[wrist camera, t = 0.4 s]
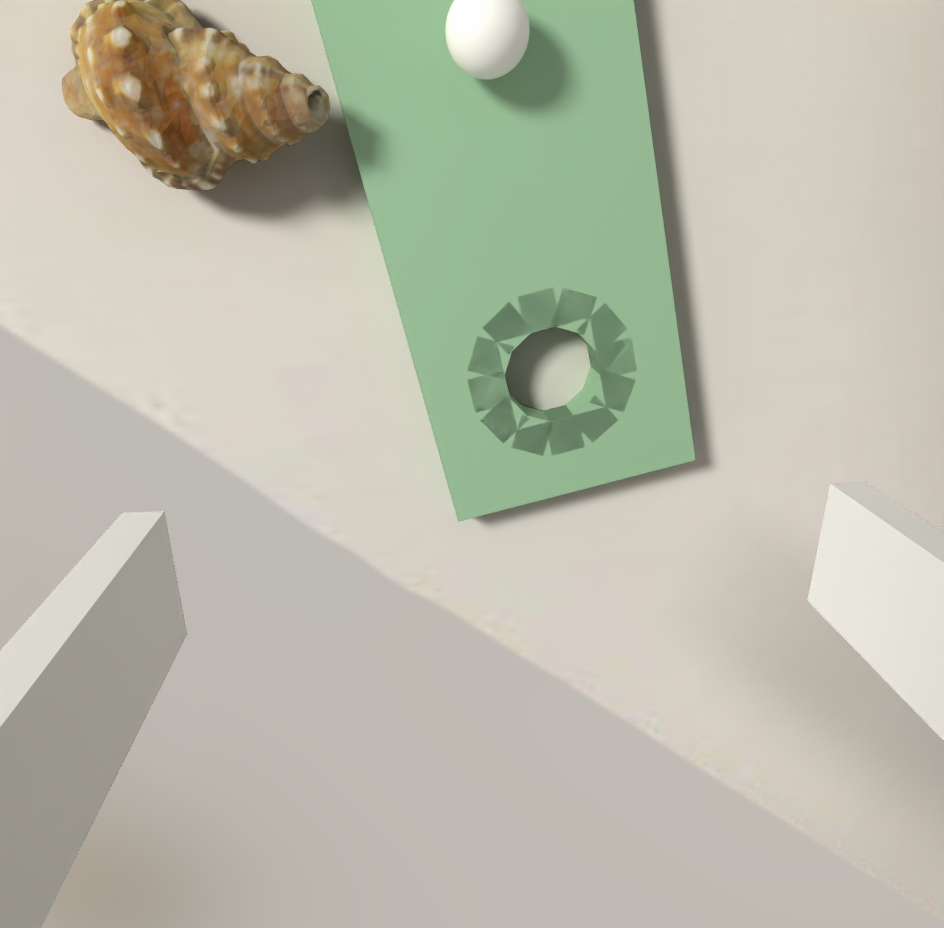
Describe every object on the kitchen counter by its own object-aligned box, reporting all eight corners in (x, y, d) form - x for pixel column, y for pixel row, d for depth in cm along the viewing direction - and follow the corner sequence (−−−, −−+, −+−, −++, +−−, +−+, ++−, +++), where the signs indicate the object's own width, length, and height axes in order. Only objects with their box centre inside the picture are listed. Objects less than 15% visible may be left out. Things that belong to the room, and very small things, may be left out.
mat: (304, -35, 32) (297, -49, 30) (603, -115, 32) (615, -135, 30) (456, 507, 42) (458, 521, 40) (682, 448, 42) (695, 460, 40)
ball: (434, 5, 31) (437, -18, 28) (513, -16, 31) (525, -42, 28) (454, 94, 32) (459, 82, 29) (530, 74, 32) (544, 59, 29)
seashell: (237, -12, 34) (314, -39, 27) (271, 165, 39) (347, 184, 31) (28, -7, 30) (52, -37, 23) (91, 190, 34) (129, 219, 27)
